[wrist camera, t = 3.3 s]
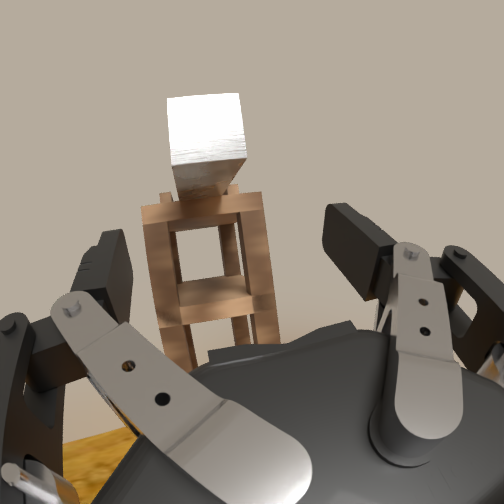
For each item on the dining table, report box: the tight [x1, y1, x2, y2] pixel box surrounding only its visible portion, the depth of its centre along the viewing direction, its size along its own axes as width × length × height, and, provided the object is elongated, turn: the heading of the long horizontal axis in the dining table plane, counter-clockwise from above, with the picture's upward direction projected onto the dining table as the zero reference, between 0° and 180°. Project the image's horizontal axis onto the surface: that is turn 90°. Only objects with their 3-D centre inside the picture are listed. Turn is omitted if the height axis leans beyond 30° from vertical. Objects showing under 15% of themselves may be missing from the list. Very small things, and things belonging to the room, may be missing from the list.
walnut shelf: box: [141, 184, 281, 373], centre depth 34 cm, size 10×18×35 cm, turn 12°
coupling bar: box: [167, 93, 247, 201], centre depth 26 cm, size 4×26×4 cm, turn 12°
